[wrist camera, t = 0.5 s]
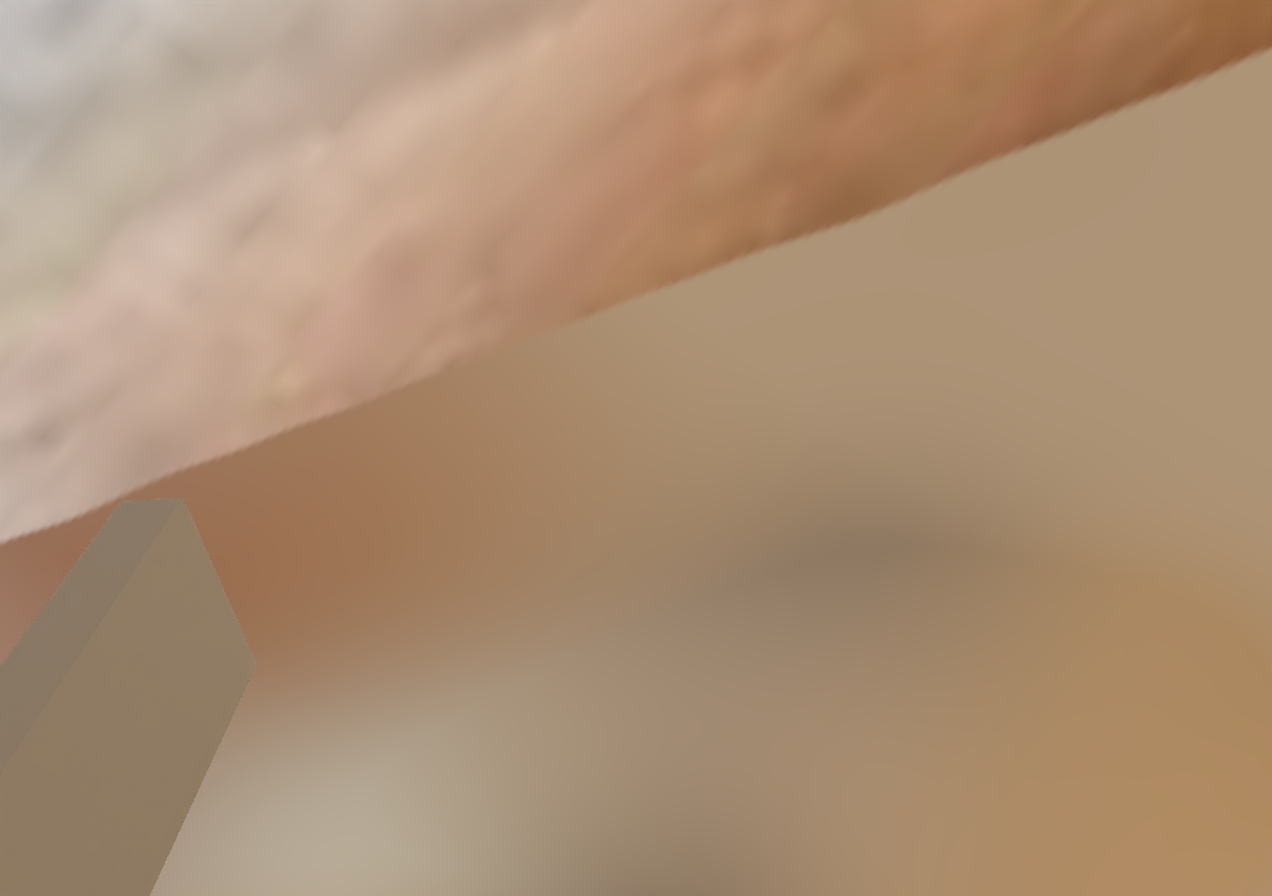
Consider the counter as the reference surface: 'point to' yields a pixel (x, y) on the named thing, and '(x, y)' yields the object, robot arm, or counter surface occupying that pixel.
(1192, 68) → the counter surface
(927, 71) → the counter surface
